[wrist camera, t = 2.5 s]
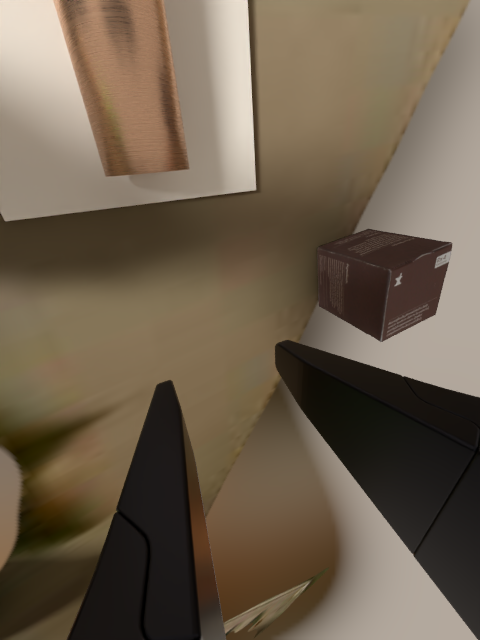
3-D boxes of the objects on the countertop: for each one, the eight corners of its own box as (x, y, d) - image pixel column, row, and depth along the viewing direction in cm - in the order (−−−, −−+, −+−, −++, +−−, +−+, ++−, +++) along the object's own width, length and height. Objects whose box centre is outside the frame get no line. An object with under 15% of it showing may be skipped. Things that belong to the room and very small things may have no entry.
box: (316, 306, 25) (379, 344, 19) (314, 245, 22) (390, 269, 16) (364, 286, 27) (436, 316, 21) (369, 226, 24) (456, 242, 18)
